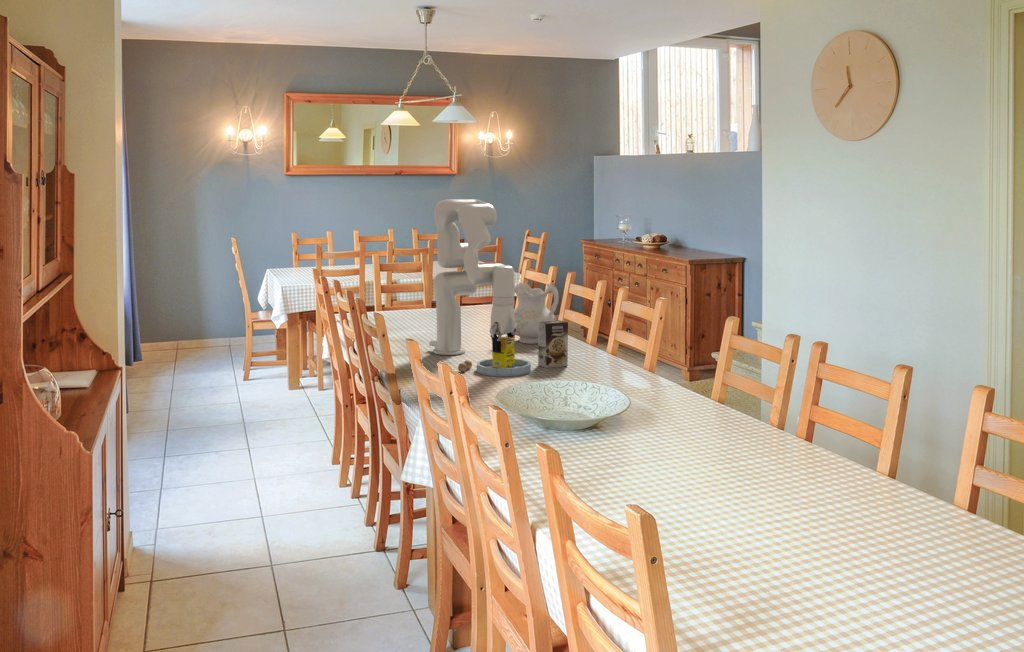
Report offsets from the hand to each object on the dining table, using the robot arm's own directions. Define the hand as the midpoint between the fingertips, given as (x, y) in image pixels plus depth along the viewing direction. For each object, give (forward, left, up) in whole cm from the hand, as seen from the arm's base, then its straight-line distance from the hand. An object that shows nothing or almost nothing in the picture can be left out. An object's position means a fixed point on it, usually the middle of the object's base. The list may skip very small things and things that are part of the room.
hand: (503, 349), depth 318 cm
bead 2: (-13, -3, -8) cm, 15 cm away
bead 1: (-12, -8, -8) cm, 16 cm away
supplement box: (0, 0, -7) cm, 7 cm away
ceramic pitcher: (-18, +59, -8) cm, 62 cm away
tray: (0, 0, -8) cm, 8 cm away
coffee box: (+11, +17, -8) cm, 22 cm away
